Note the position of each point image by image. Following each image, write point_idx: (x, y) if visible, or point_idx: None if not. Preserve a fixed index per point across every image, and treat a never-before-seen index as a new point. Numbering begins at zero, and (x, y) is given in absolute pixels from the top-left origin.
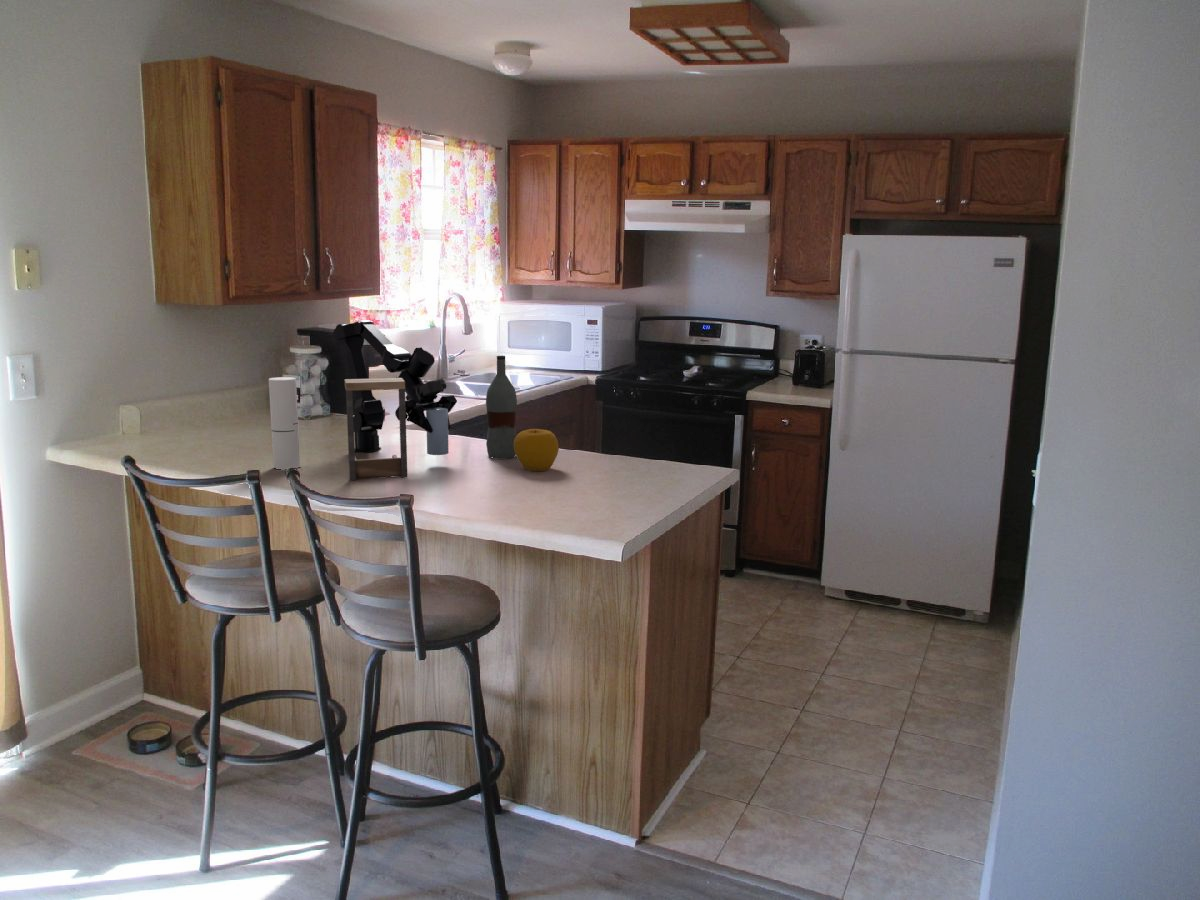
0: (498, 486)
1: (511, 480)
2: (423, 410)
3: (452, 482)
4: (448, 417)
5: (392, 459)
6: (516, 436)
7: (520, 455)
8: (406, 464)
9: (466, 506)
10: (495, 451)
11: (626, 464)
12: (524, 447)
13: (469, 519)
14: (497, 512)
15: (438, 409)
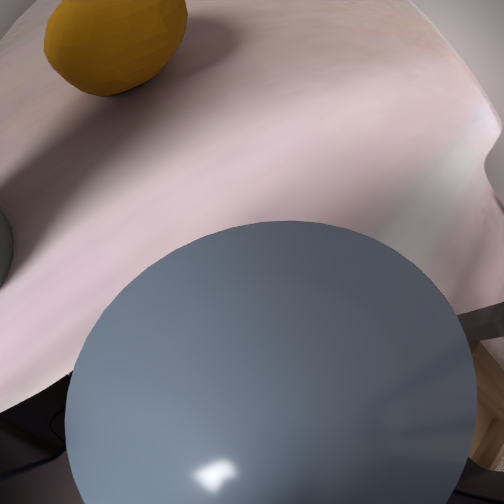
0: (337, 72)
1: (271, 67)
2: (480, 491)
3: (388, 167)
4: (71, 373)
5: (490, 358)
6: (139, 13)
7: (179, 40)
8: (463, 314)
9: (452, 85)
10: (2, 236)
11: (39, 25)
12: (185, 10)
13: (469, 72)
14: (432, 51)
15: (299, 422)
